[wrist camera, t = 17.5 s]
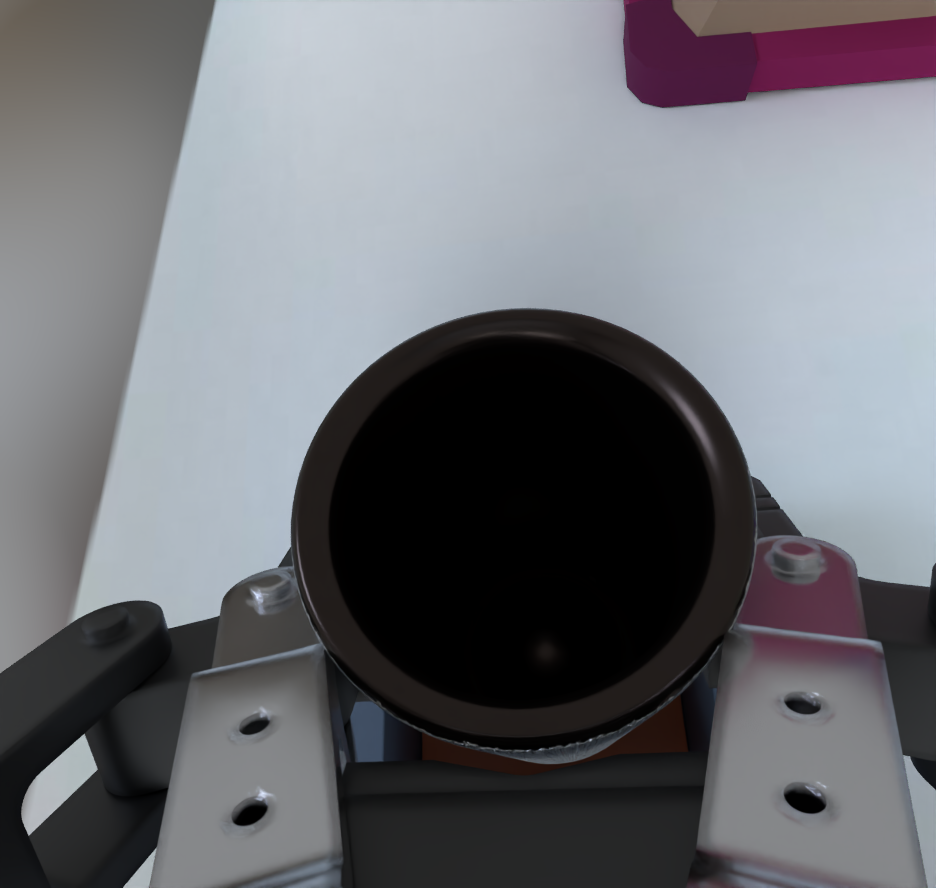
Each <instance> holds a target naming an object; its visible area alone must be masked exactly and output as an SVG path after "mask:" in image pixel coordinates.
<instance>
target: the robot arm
mask: <svg viewBox="0 0 936 888" xmlns="http://www.w3.org/2000/svg"><path fill="white" fill-rule="evenodd" d="M751 478H752V484H753V489H754V494H755V501H756V510H757V545H756V555H755V561H754V568H753V572H752V576H751V581H750V585H749V588H748V591H747V594H746V597H745V600H744V603H743V606H742V608H741V611H740V613H739V615H738V617H737V620H736V622H735V624H734V626H733V628H732V629H731V630H730V631H728V632H727V633H726V634H724V639H723V645H722V646H721V648H720V649H719V651H718V652H717V654H716V655H715V657H714V658H713V659H712V660H711V662H710V663H709V664H708V665H707V667H706V668H705V669H704V670H703V673H704V676H705V679H706V681H707V684H708V687H709V689H711V688H717V693H716V701H715V708H714V716H713V724H712V731H711V739H710V747H709V751H696V752H664V753H633V754H617V755H613V756H609V757H604V758H600V759H596V760H592V761H588V762H583V763H579V764H575V765H571V766H567V767H563V768H558V769H554V770H550V771H546V772H542V773H537V774H533V775H513V774H508V773H502V772H497V771H492V770H486V769H481V768H475V767H470V766H464V765H459V764H453V763H448V762H442V761H437V760H410V761H378V762H358V758H357V751H356V743H355V736H354V731H353V726H352V721H351V717H350V716H351V714H352V711H353V708H354V705H355V702H371V700H369V699H368V698H367V697H366V696H365V695H363V694H362V693H361V692H360V691H359V690H358V689H357V688H356V687H355V686H354V685H353V684H352V683H351V682H350V681H349V680H348V679H347V678H346V676H345V675H344V674H343V673H342V672H341V671H340V670H339V668H338V667H337V666H336V664H335V663H334V662H333V661H332V659H331V658H330V657H329V655H328V654H327V652H326V650H325V649H324V647H323V646H322V644H321V643H320V641H319V639H318V637H317V635H316V633H315V632H314V630H313V628H312V626H311V624H310V621H309V619H308V617H307V614H306V612H305V609H304V607H303V604H302V601H301V597H300V594H299V591H298V587H297V583H296V579H295V574H294V568H293V561H292V550H291V547H290V549H289V550H288V552H287V554H286V555H285V557H284V558H283V560H282V562H281V563H280V565H279V566H278V568H274V569H270V570H266V571H263V572H260V573H257V574H254V575H252V576H250V577H248V578H246V579H244V580H242V581H241V582H239V583H237V584H236V585H235V586H233V587H232V588H231V589H230V590H229V591H228V592H227V593H226V595H225V596H224V598H223V601H222V605H221V611H220V616H218V617H214V618H211V619H207V620H203V621H199V622H194V623H190V624H186V625H182V626H178V627H174V628H169V629H168V628H167V624H166V621H165V618H164V614H163V611H162V609H161V607H160V606H158V605H157V604H155V603H153V602H149V601H127V602H121V603H117V604H113V605H109V606H106V607H103V608H100V609H98V610H95V611H93V612H91V613H89V614H86V615H84V616H83V617H81V618H79V619H77V620H76V621H74V622H73V623H71V624H70V625H68V626H67V627H65V628H64V629H62V630H61V631H60V632H58V633H57V634H55V635H54V636H53V637H51V638H50V639H48V640H47V641H45V642H44V643H43V644H41V645H40V646H38V647H37V648H36V649H34V650H33V651H31V652H30V653H28V654H27V655H26V656H24V657H23V658H21V659H20V660H18V661H17V662H16V663H14V664H13V665H11V666H10V667H9V668H7V669H6V670H4V671H3V672H2V673H0V888H123V887H124V885H125V884H126V883H127V882H128V881H129V879H130V878H131V877H132V876H133V875H134V874H135V872H136V871H137V870H138V869H139V868H140V866H141V865H142V864H143V863H144V862H145V860H146V859H147V858H148V857H149V856H150V855H151V853H152V852H153V851H154V850H155V849H156V847H157V850H156V855H155V860H154V865H153V870H152V875H151V880H150V885H149V888H928V887H927V882H926V876H925V871H924V866H923V860H922V855H921V850H920V844H919V839H918V834H917V828H916V823H915V818H914V812H913V807H912V802H911V796H910V791H909V786H908V780H907V775H906V770H905V764H904V759H903V755H906V756H910V757H911V760H912V762H913V765H914V766H915V768H916V769H917V771H918V772H919V773H920V775H921V776H922V777H923V778H924V779H925V780H926V781H927V782H928V783H929V784H930V785H931V786H932V787H933V788H934V789H936V563H935V565H934V566H933V569H932V577H931V585H930V587H924V586H915V585H906V584H897V583H888V582H881V581H874V580H870V579H865V578H861V577H858V574H857V568H856V564H855V561H854V560H853V558H852V557H851V556H850V555H849V554H848V553H847V552H845V551H844V550H842V549H841V548H839V547H837V546H835V545H833V544H830V543H827V542H825V541H821V540H818V539H814V538H809V537H803V536H802V534H801V533H800V532H799V531H798V529H797V528H796V527H795V525H794V524H793V523H792V521H791V520H790V519H789V518H788V516H787V515H786V514H785V512H784V511H783V510H782V509H780V506H779V504H778V503H777V502H776V501H775V499H774V498H773V497H771V494H770V493H769V491H768V490H767V489H766V488H765V486H764V485H763V484H762V482H761V481H760V480H758V479H756V478H754V477H752V476H751ZM84 733H85V736H86V739H87V741H88V744H89V747H90V749H91V752H92V755H93V757H94V760H95V763H96V765H97V768H98V770H97V771H96V772H95V773H94V774H93V775H92V776H91V777H90V778H89V779H88V780H87V781H86V782H85V783H83V784H82V785H81V786H80V787H79V788H78V789H77V790H76V791H75V792H74V793H73V794H72V795H71V796H70V797H69V798H68V799H67V800H66V801H65V802H64V803H63V804H62V805H61V806H60V807H58V808H57V809H56V810H55V811H54V812H53V813H52V814H51V815H50V816H49V817H48V818H47V819H46V820H45V821H44V822H43V823H42V824H41V825H40V826H39V827H38V828H37V829H36V830H35V831H33V832H32V833H31V834H30V835H29V836H28V834H27V831H26V829H25V827H24V824H23V821H22V817H21V807H22V803H23V799H24V796H25V794H26V792H27V790H28V788H29V786H30V784H31V783H32V781H33V780H34V779H35V778H36V776H37V775H38V774H39V773H40V772H41V771H43V770H44V769H45V768H46V767H47V766H48V765H49V764H50V763H52V762H53V761H54V760H55V759H56V758H57V757H58V756H60V755H61V754H62V753H63V752H64V751H65V750H66V749H67V748H69V747H70V746H71V745H72V744H73V743H74V742H75V741H76V740H78V739H79V738H80V737H81V736H82V735H83V734H84Z"/></svg>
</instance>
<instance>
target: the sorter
mask: <svg viewBox="0 0 936 888" xmlns="http://www.w3.org/2000/svg"><path fill="white" fill-rule="evenodd" d="M716 693H717V688H711V689H709V687H708V684H707V681H706V679H705V676H704V673H703V672H702V673H701V674H700V675H699V676H698V677H697V678H696V679H695V680H694V681H693V682H692V683H691V684H690V685H689V686H688V687H687V688H686V689H685V690H684V691H683V692H682V693H681V694H680V695H679V696H678V697H676V698H675V699H674V700H673V701H672V702H671V703H669V704H668V705H667V706H665V707H664V708H663V709H661V710H660V711H659V712H657V713H656V714H654V715H653V716H652V717H650V718H649V719H647V720H646V721H645V722H643V723H642V724H640V725H639V726H637V727H636V728H634V729H633V730H632V731H630V732H629V733H627V734H626V735H624V736H623V737H621V738H620V739H619V740H617V741H616V742H614V743H613V744H611V745H610V746H608V747H607V748H605V749H604V750H602V751H600V752H598V753H596V754H594V755H592V756H590V757H587V758H585V759H581V760H578V761H574V762H569V763H562V764H540V763H533V762H528V761H524V760H519V759H514V758H510V757H505V756H500V755H496V754H491V753H486V752H482V751H478V750H473V749H469V748H465V747H461V746H457V745H454V744H451V743H448V742H445V741H442V740H439V739H436V738H434V737H432V736H429V735H427V734H425V733H423V732H420V731H418V730H416V729H414V728H412V727H410V726H408V725H406V724H405V723H403V722H401V721H399V720H397V719H396V718H394V717H393V716H391V715H390V714H388V713H387V712H385V711H384V710H382V709H381V708H379V707H378V706H377V705H376V704H374V703H373V702H372V701H371V702H355V705H354V708H353V711H352V714H351V716H350V717H351V721H352V726H353V731H354V736H355V743H356V751H357V758H358V762H378V761H410V760H437V761H442V762H448V763H453V764H459V765H464V766H470V767H475V768H481V769H486V770H492V771H497V772H502V773H508V774H513V775H533V774H537V773H542V772H546V771H550V770H554V769H558V768H563V767H567V766H571V765H575V764H579V763H583V762H588V761H592V760H596V759H600V758H604V757H609V756H613V755H617V754H633V753H664V752H696V751H709V747H710V739H711V731H712V724H713V716H714V708H715V701H716Z"/></svg>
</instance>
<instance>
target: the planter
mask: <svg viewBox="0 0 936 888" xmlns="http://www.w3.org/2000/svg"><path fill="white" fill-rule="evenodd" d="M756 545H757V510H756V501H755V494H754V489H753V484H752V478H751V475H750V471H749V468H748V465H747V461H746V458H745V456H744V453H743V451H742V448H741V445H740V443H739V441H738V439H737V437H736V435H735V433H734V430H733V428H732V427H731V425H730V423H729V421H728V420H727V418H726V416H725V415H724V413H723V411H722V410H721V409H720V407H719V406H718V404H717V403H716V401H715V400H714V399H713V397H712V396H711V395H710V394H709V392H708V391H707V390H706V389H705V388H704V386H703V385H702V384H701V383H700V382H699V381H698V380H697V379H696V378H695V377H694V376H693V375H692V374H691V373H690V372H689V371H688V370H687V369H686V368H685V367H684V366H682V365H681V364H680V363H679V362H678V361H676V360H675V359H674V358H673V357H671V356H670V355H669V354H667V353H666V352H665V351H663V350H662V349H660V348H659V347H657V346H656V345H654V344H653V343H651V342H649V341H647V340H646V339H644V338H642V337H640V336H639V335H637V334H635V333H632V332H630V331H628V330H626V329H624V328H622V327H619V326H617V325H614V324H612V323H609V322H606V321H603V320H600V319H597V318H594V317H590V316H586V315H582V314H578V313H572V312H567V311H561V310H551V309H537V308H516V309H503V310H494V311H488V312H481V313H477V314H472V315H468V316H464V317H461V318H457V319H454V320H451V321H448V322H445V323H442V324H440V325H437V326H434V327H432V328H430V329H428V330H425V331H423V332H421V333H419V334H417V335H415V336H413V337H411V338H409V339H408V340H406V341H404V342H403V343H401V344H399V345H398V346H396V347H394V348H393V349H391V350H390V351H389V352H387V353H386V354H384V355H383V356H382V357H380V358H379V359H378V360H376V361H375V362H374V363H373V364H372V365H370V366H369V367H368V368H367V369H366V370H365V371H364V372H363V373H361V374H360V375H359V376H358V377H357V378H356V379H355V380H354V381H353V382H352V384H351V385H350V386H349V387H348V388H347V389H346V390H345V391H344V392H343V394H342V395H341V396H340V397H339V399H338V400H337V401H336V402H335V404H334V405H333V407H332V408H331V409H330V411H329V412H328V414H327V415H326V417H325V418H324V420H323V422H322V423H321V425H320V427H319V428H318V430H317V432H316V434H315V436H314V438H313V440H312V442H311V444H310V446H309V449H308V451H307V454H306V456H305V458H304V461H303V464H302V467H301V470H300V473H299V477H298V481H297V485H296V489H295V495H294V501H293V507H292V518H291V550H292V561H293V568H294V574H295V579H296V583H297V587H298V591H299V594H300V597H301V601H302V604H303V607H304V609H305V612H306V614H307V617H308V619H309V621H310V624H311V626H312V628H313V630H314V632H315V633H316V635H317V637H318V639H319V641H320V643H321V644H322V646H323V647H324V649H325V650H326V652H327V654H328V655H329V657H330V658H331V659H332V661H333V662H334V663H335V664H336V666H337V667H338V668H339V670H340V671H341V672H342V673H343V674H344V675H345V676H346V678H347V679H348V680H349V681H350V682H351V683H352V684H353V685H354V686H355V687H356V688H357V689H358V690H359V691H360V692H361V693H362V694H363V695H365V696H366V697H367V698H368V699H369V700H371V701H372V702H373V703H374V704H376V705H377V706H378V707H379V708H381V709H382V710H384V711H385V712H387V713H388V714H390V715H391V716H393V717H394V718H396V719H397V720H399V721H401V722H403V723H405V724H406V725H408V726H410V727H412V728H414V729H416V730H418V731H420V732H423V733H425V734H427V735H429V736H432V737H434V738H436V739H439V740H442V741H445V742H448V743H451V744H454V745H457V746H461V747H465V748H469V749H473V750H478V751H482V752H486V753H491V754H496V755H500V756H505V757H510V758H514V759H519V760H524V761H528V762H533V763H540V764H562V763H569V762H574V761H578V760H581V759H585V758H587V757H590V756H592V755H594V754H596V753H598V752H600V751H602V750H604V749H605V748H607V747H608V746H610V745H611V744H613V743H614V742H616V741H617V740H619V739H620V738H621V737H623V736H624V735H626V734H627V733H629V732H630V731H632V730H633V729H634V728H636V727H637V726H639V725H640V724H642V723H643V722H645V721H646V720H647V719H649V718H650V717H652V716H653V715H654V714H656V713H657V712H659V711H660V710H661V709H663V708H664V707H665V706H667V705H668V704H669V703H671V702H672V701H673V700H674V699H675V698H676V697H678V696H679V695H680V694H681V693H682V692H683V691H684V690H685V689H686V688H687V687H688V686H689V685H690V684H691V683H692V682H693V681H694V680H695V679H696V678H697V677H698V676H699V675H700V674H701V673H702V672H703V670H704V669H705V668H706V667H707V665H708V664H709V663H710V662H711V660H712V659H713V658H714V657H715V655H716V654H717V652H718V651H719V649H720V648H721V646H722V645H723V639H724V634H726V633H727V632H728V631H730V630H731V629H732V628H733V626H734V624H735V622H736V620H737V617H738V615H739V613H740V611H741V608H742V606H743V603H744V600H745V597H746V594H747V591H748V588H749V585H750V581H751V576H752V572H753V568H754V561H755V555H756Z"/></svg>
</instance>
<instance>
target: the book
mask: <svg viewBox="0 0 936 888" xmlns="http://www.w3.org/2000/svg"><path fill="white" fill-rule="evenodd" d="M624 10H625V25H624V39H623V44H624V55H625V67H626V79H627V87H628V88H629V89H630V90H631V91H632V92H633V93H634V95H635V96H636V97H637V98H638V99H639V100H640V101H641V102H642V103H646V104H650V105H655V106H659V107H672V106H684V105H696V104H707V103H719V102H731V101H743V100H745V99H746V96H747V93H749V92H760V91H772V90H783V89H795V88H807V87H818V86H830V85H842V84H853V83H865V82H877V81H888V80H900V79H911V78H923V77H935V76H936V0H624Z"/></svg>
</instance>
